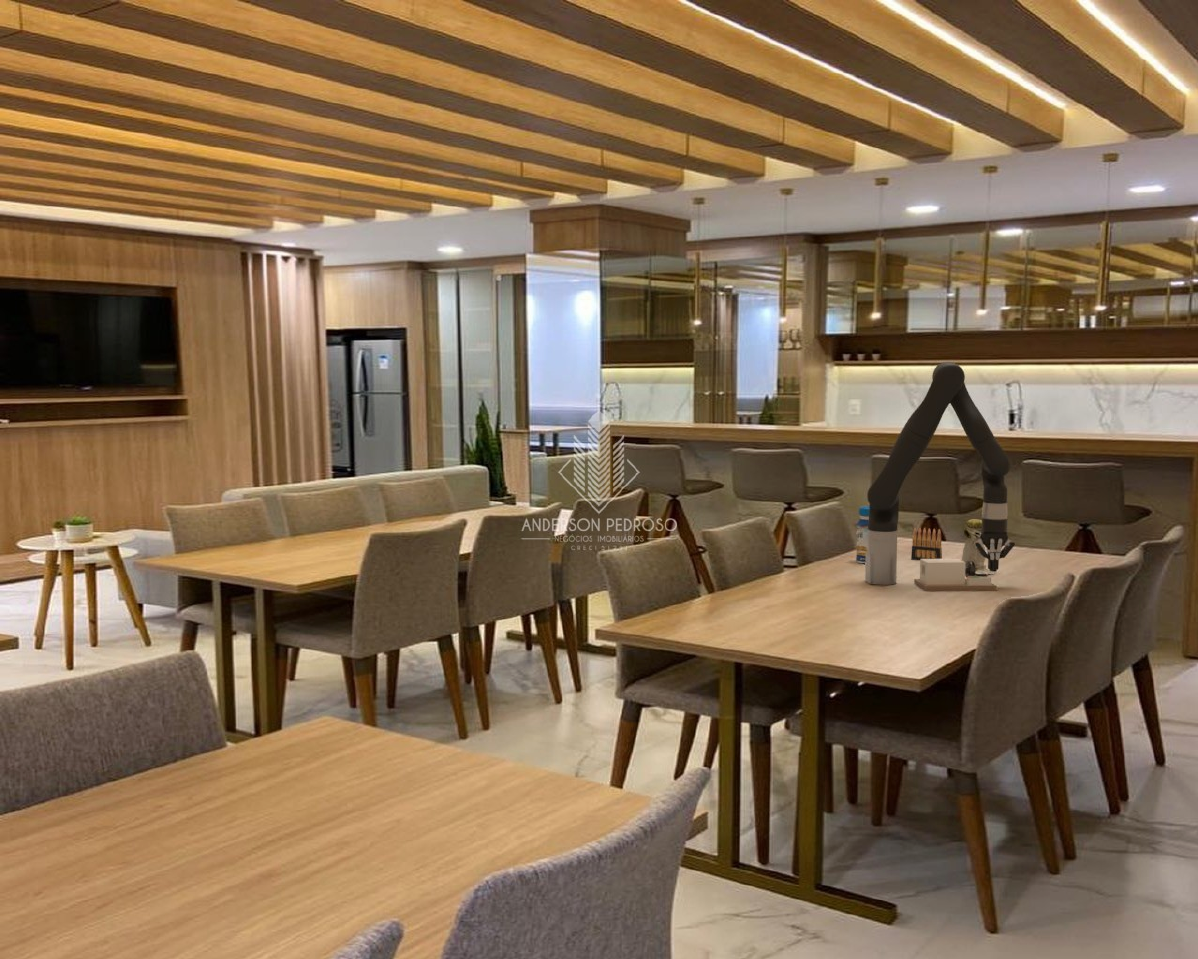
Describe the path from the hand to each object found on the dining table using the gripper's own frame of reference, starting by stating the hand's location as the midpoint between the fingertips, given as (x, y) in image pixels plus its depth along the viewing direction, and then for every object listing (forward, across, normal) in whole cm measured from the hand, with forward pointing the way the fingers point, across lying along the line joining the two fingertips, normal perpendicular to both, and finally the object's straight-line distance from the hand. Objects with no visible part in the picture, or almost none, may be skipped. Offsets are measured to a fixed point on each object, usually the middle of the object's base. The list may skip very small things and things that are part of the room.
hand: (993, 571), depth 331 cm
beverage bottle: (+5, -28, +46) cm, 54 cm away
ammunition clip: (+5, -6, +49) cm, 50 cm away
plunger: (+2, -13, -1) cm, 13 cm away
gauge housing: (+5, -12, 0) cm, 13 cm away
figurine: (+5, +3, +24) cm, 25 cm away
